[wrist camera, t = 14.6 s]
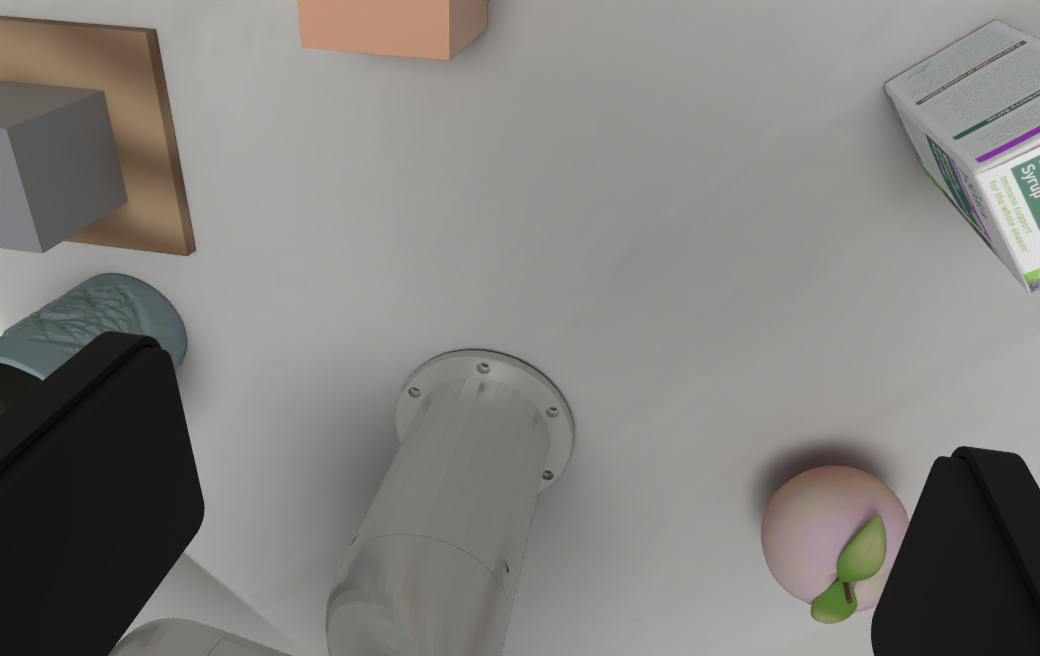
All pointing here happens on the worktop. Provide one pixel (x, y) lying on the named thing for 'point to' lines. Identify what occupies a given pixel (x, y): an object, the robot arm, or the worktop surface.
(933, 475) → the robot arm
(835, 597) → the decorative fruit
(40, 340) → the teal textured cup
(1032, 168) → the syrup box
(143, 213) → the walnut pad
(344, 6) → the salmon pink cube
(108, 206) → the matte grey cuboid
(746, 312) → the worktop surface
